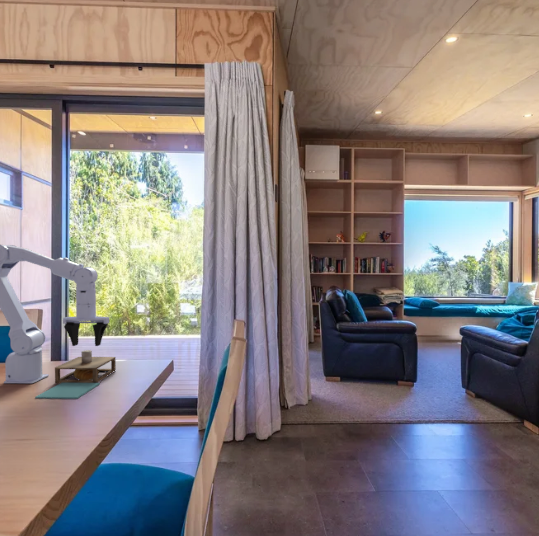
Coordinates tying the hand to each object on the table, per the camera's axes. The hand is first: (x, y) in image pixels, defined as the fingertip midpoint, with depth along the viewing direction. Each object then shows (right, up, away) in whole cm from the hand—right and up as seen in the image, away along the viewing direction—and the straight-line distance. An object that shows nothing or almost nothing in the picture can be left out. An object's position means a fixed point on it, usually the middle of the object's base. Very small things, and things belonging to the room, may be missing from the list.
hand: (86, 345), depth 119 cm
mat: (+1, -11, -13) cm, 17 cm away
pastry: (0, -11, 0) cm, 11 cm away
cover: (0, -10, 0) cm, 10 cm away
